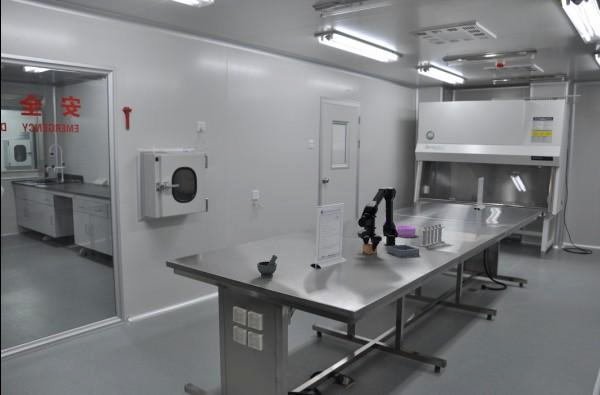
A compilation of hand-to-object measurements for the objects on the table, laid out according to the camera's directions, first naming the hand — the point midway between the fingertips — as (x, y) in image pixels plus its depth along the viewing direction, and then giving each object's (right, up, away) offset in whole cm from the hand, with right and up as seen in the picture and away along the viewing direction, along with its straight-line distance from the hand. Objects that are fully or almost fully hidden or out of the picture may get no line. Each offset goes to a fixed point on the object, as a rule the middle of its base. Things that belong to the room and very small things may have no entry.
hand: (369, 249), depth 291 cm
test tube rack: (+47, 0, +28) cm, 55 cm away
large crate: (+20, -2, -2) cm, 21 cm away
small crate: (0, -2, 0) cm, 2 cm away
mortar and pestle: (-60, -8, -56) cm, 82 cm away
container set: (+31, +4, +62) cm, 69 cm away
